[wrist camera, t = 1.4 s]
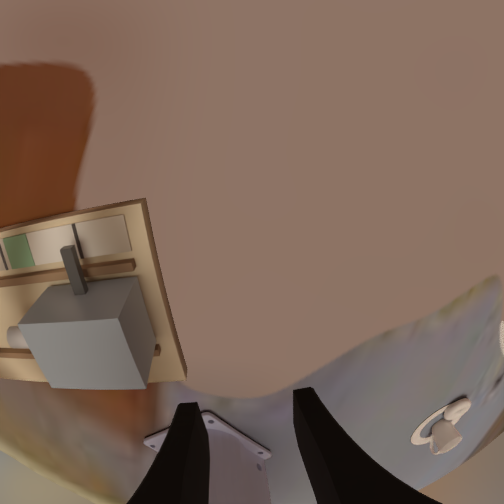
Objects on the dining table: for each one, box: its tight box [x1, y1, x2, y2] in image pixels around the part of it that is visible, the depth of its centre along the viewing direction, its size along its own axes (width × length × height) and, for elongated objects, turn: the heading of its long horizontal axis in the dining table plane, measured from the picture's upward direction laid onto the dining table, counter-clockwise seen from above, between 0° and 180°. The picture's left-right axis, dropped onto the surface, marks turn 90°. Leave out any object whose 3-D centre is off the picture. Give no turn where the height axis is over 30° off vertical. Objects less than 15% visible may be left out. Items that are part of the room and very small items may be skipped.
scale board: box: [0, 198, 187, 383], centre depth 15 cm, size 18×12×6 cm, turn 96°
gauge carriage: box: [7, 244, 156, 389], centre depth 15 cm, size 9×7×4 cm
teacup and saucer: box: [411, 321, 504, 455], centre depth 28 cm, size 9×8×4 cm
